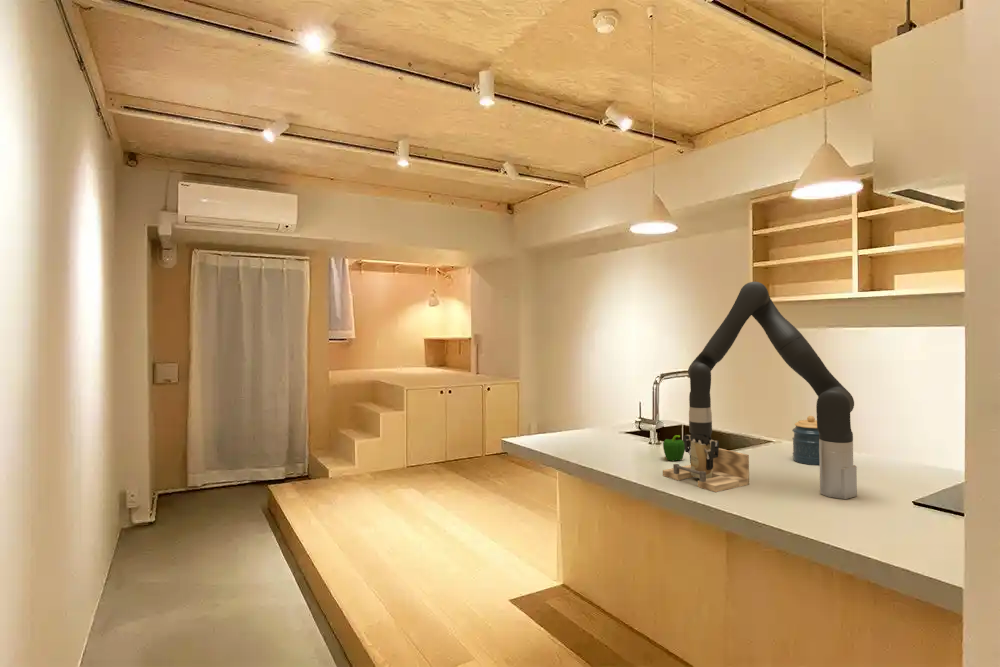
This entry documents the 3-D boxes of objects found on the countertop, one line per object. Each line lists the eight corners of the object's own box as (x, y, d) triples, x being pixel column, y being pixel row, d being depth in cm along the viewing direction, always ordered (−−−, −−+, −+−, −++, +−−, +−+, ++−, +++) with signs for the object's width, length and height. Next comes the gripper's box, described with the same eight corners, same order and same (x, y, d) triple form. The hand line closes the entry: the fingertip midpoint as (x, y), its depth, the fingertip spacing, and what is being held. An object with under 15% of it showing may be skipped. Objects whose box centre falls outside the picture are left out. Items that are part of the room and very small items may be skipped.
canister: (797, 464, 219) (796, 418, 219) (789, 456, 232) (788, 412, 231) (835, 466, 216) (835, 418, 216) (825, 457, 229) (824, 413, 228)
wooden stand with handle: (749, 484, 196) (748, 454, 196) (715, 492, 189) (714, 461, 188) (695, 469, 217) (694, 442, 217) (662, 475, 210) (662, 448, 210)
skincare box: (690, 475, 204) (689, 440, 204) (700, 473, 206) (699, 439, 206) (702, 479, 198) (701, 444, 198) (713, 478, 200) (712, 442, 200)
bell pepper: (658, 460, 233) (658, 435, 233) (670, 456, 238) (669, 432, 238) (677, 463, 227) (676, 437, 226) (688, 459, 232) (688, 434, 232)
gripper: (724, 421, 197) (725, 470, 198) (692, 416, 210) (693, 461, 210) (708, 423, 194) (710, 473, 194) (677, 418, 206) (678, 464, 207)
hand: (701, 467), depth 202 cm, fingers closed on skincare box, 6 cm apart
